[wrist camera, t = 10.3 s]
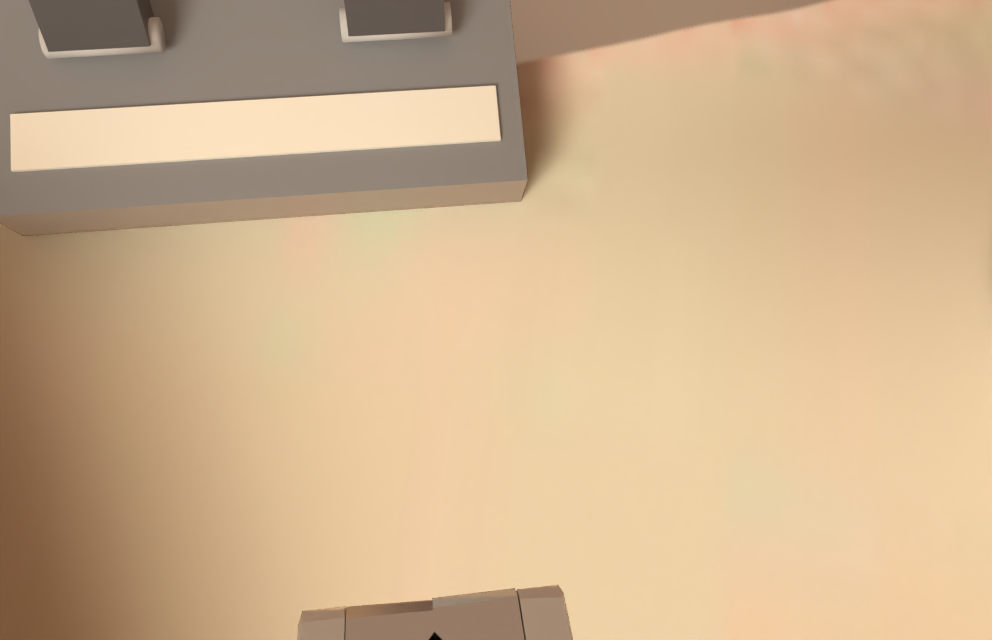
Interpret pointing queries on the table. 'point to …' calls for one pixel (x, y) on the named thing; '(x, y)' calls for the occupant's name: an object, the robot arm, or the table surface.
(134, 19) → the lever
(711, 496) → the table surface
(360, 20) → the lever
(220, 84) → the breaker panel
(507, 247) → the table surface
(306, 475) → the table surface
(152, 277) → the table surface
